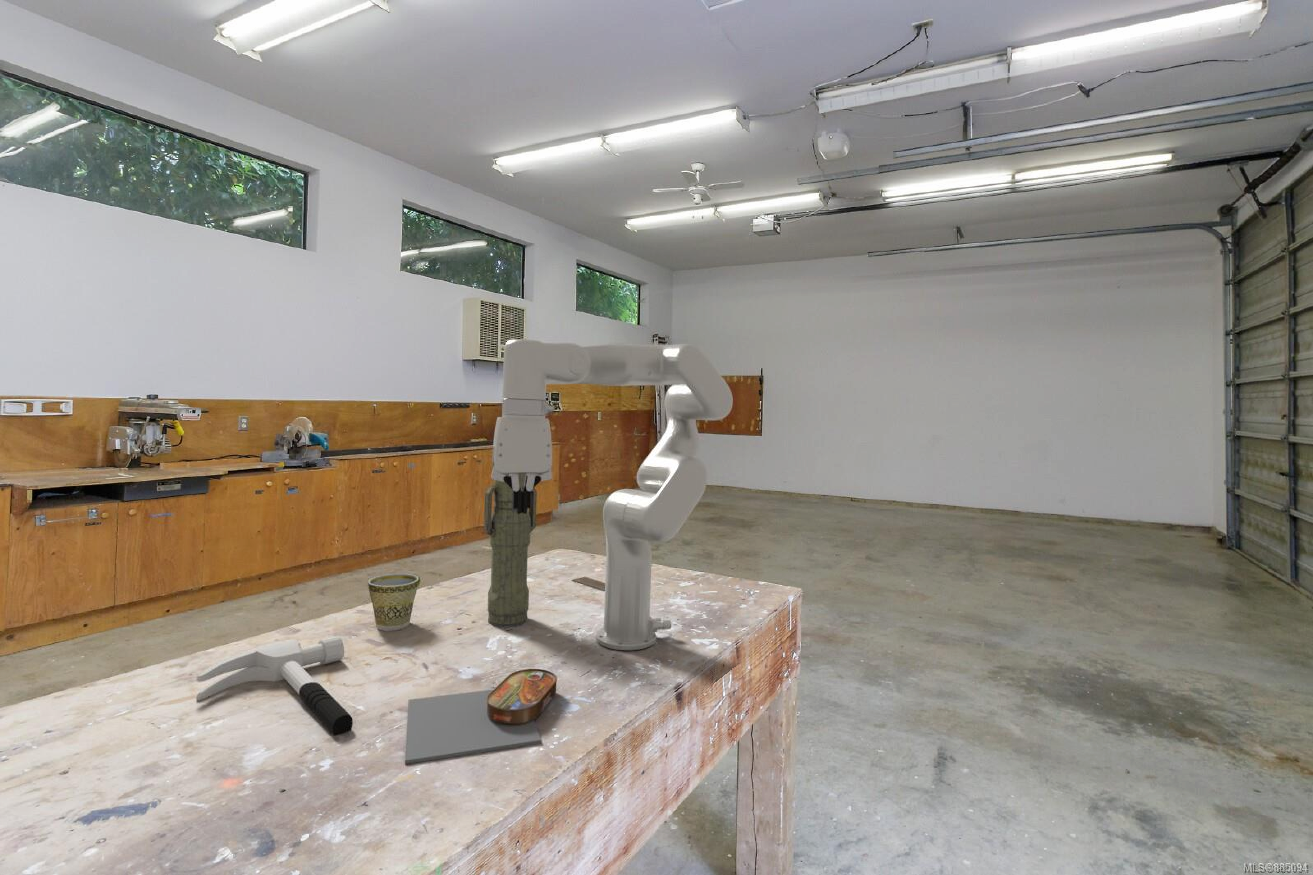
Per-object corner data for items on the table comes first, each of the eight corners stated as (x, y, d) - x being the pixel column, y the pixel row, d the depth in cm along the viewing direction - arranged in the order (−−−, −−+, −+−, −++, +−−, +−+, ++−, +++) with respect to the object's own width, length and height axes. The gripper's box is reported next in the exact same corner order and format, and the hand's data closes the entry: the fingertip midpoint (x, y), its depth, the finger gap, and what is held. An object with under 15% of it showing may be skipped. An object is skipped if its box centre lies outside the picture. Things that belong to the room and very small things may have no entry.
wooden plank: (571, 578, 172) (585, 574, 176) (571, 582, 172) (585, 578, 176) (613, 592, 161) (626, 588, 165) (613, 597, 161) (626, 593, 165)
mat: (522, 688, 105) (522, 686, 105) (540, 743, 88) (540, 739, 88) (408, 702, 99) (408, 699, 99) (405, 764, 82) (405, 760, 82)
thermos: (541, 619, 140) (546, 465, 138) (496, 632, 131) (500, 467, 130) (519, 610, 146) (523, 462, 144) (474, 621, 137) (478, 464, 136)
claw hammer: (407, 688, 96) (334, 629, 116) (239, 740, 80) (189, 661, 100) (405, 721, 96) (334, 657, 116) (238, 780, 80) (189, 693, 100)
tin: (529, 712, 91) (476, 701, 92) (527, 733, 91) (474, 721, 92) (564, 672, 105) (518, 662, 107) (562, 690, 106) (517, 680, 107)
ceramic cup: (394, 636, 126) (394, 588, 126) (356, 629, 130) (357, 582, 129) (436, 617, 139) (437, 573, 138) (401, 611, 142) (402, 568, 142)
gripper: (561, 411, 116) (558, 508, 117) (478, 408, 111) (476, 510, 111) (570, 411, 109) (566, 515, 110) (482, 408, 104) (479, 517, 104)
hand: (521, 512), depth 110 cm, fingers closed
